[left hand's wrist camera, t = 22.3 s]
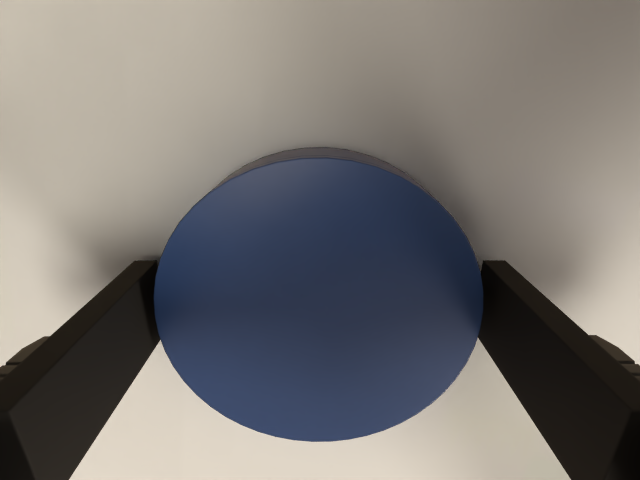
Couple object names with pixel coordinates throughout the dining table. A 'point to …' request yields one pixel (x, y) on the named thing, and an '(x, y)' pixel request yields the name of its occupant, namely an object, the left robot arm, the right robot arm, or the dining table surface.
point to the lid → (318, 296)
